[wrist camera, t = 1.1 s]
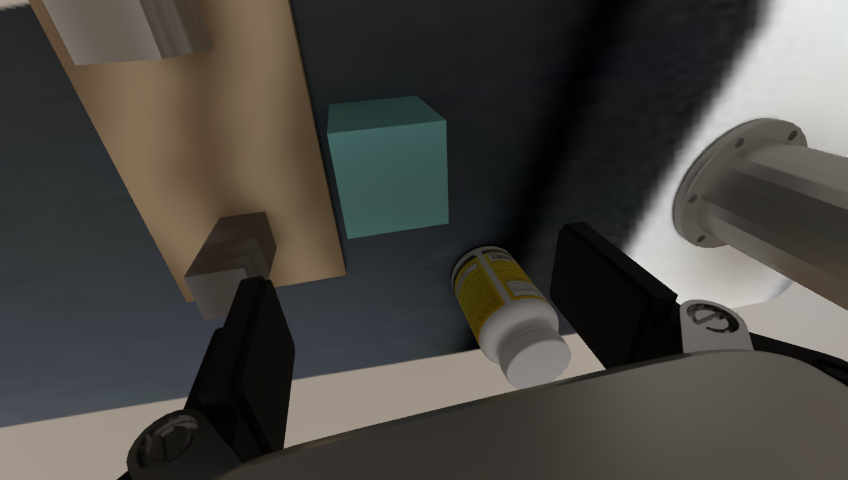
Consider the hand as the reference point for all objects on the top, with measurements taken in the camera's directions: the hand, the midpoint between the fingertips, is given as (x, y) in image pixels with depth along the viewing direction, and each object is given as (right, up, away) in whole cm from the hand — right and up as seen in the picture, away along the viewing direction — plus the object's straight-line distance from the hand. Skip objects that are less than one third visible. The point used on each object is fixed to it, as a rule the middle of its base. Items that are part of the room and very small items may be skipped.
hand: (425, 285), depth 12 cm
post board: (-13, +8, +11) cm, 19 cm away
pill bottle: (+5, -1, +22) cm, 23 cm away
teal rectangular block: (-3, +8, +14) cm, 16 cm away
